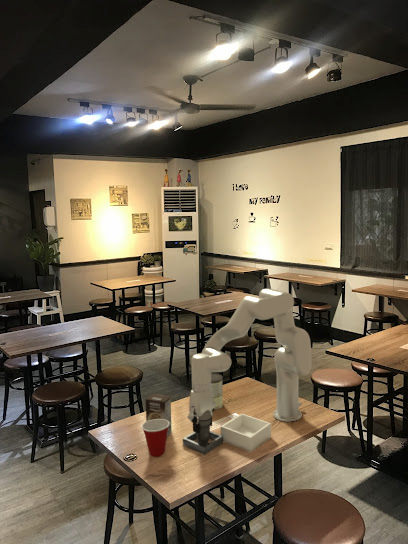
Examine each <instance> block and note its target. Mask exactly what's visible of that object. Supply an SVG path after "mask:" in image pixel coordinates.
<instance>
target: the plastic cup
mask: <svg viewBox="0 0 408 544" xmlns="http://www.w3.org/2000/svg"><path fill="white" fill-rule="evenodd" d="M168 427H169V421H167V420H165V419H153V420H149V421H147V422H146V421H145V422H143V423H142V424H141V429H142V431H143V433H144V438H145V440H146V446H147V447H148V453H149V455H150V456H151V457H154V458H158V457H162V456H163V455H164V454H165V452H166V446H167V439H168V437H167V432H168Z"/></svg>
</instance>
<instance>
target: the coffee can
mask: <svg viewBox="0 0 408 544" xmlns="http://www.w3.org/2000/svg"><path fill="white" fill-rule="evenodd" d="M223 380H224V379H223V376H222V374H220V373H217V372H212V373H211V387H212V392H213V401H214V402H215V403H216V406H215V408H214V410H218V409H221V408H222V407H223V406H224V403H223V401H224V400H223V391H224V390H223Z"/></svg>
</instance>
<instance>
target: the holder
mask: <svg viewBox="0 0 408 544" xmlns="http://www.w3.org/2000/svg"><path fill="white" fill-rule="evenodd" d="M209 440H210V441H209V443H208V444H206V445H205V446H203V445H201V444H199V443H197V437H196V432H192V433H190V434H188V435H186V436H185V437H183V438H182V446H184V447H185V448H188V449H189V450H192V451H194V452H196V453H199V454H201V455H203V456H206V455H207V454H209V453H210V452H212V451H213V450H215V449H217V448H218V447H219V446H221V445H222V444H224V441H223V436H222V435H221V433H217V432H214V431H212V430H210V435H209Z"/></svg>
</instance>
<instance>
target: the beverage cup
mask: <svg viewBox="0 0 408 544" xmlns="http://www.w3.org/2000/svg"><path fill="white" fill-rule="evenodd" d="M196 415H197V414H196ZM211 418H212V419H213V416H211V412H210V411H209V410H207V411H205V412H204V414H203V415H202V416H200V419H199V424H200V433H199V434H198V433H196V437H197V439H196V443H199V444H201V445H203V446H205V445H206V444H208V443H210V439H209V435H210V431H211V426H210V422H211ZM196 419H197V417H196V416H195V420H196Z"/></svg>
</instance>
